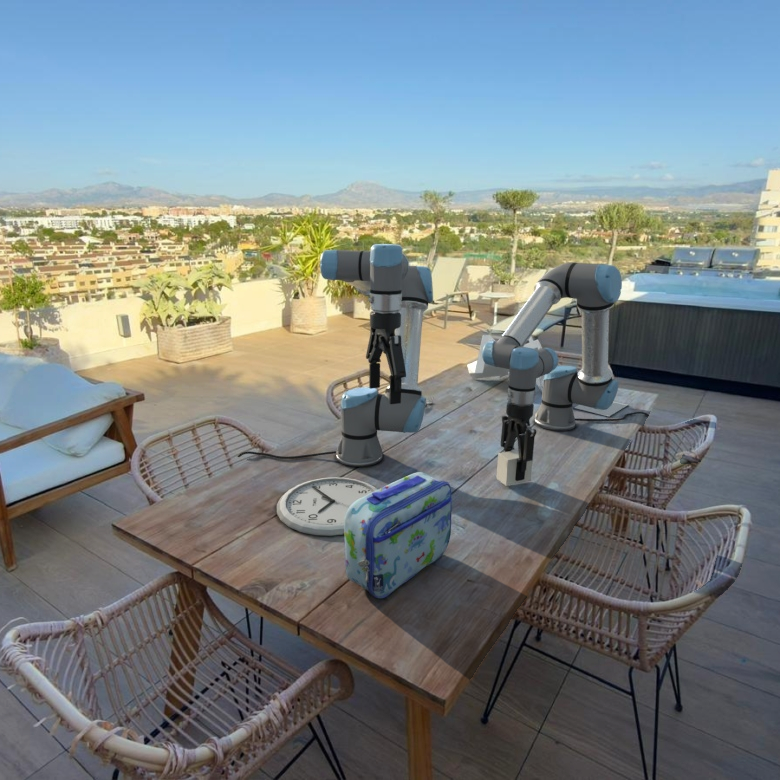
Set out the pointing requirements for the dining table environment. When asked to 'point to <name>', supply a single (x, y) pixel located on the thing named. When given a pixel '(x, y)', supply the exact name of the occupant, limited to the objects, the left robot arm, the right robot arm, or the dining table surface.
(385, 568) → the lunch box
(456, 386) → the dining table surface
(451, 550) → the dining table surface
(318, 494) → the wall clock
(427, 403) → the fork
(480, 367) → the white plastic object
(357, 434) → the left robot arm
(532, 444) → the right robot arm
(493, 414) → the dining table surface
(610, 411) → the invitation card
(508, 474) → the block
